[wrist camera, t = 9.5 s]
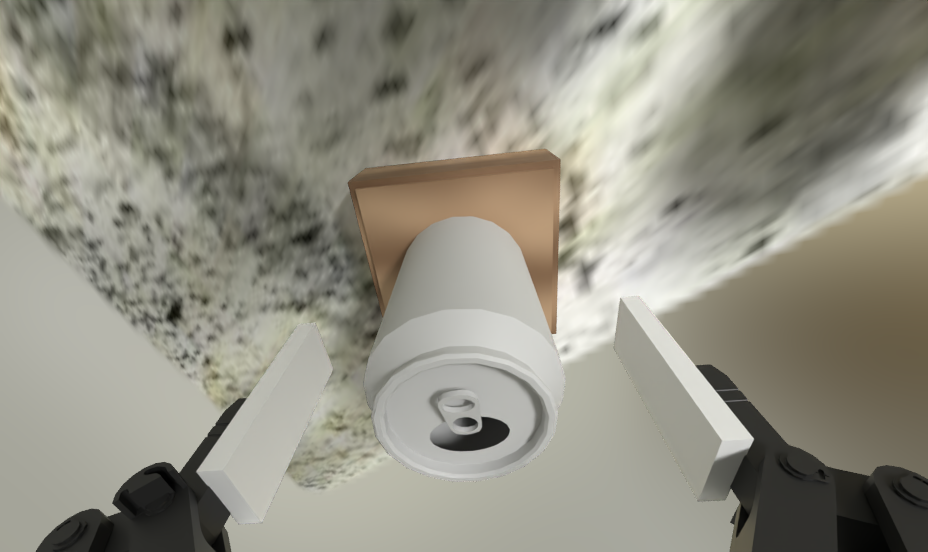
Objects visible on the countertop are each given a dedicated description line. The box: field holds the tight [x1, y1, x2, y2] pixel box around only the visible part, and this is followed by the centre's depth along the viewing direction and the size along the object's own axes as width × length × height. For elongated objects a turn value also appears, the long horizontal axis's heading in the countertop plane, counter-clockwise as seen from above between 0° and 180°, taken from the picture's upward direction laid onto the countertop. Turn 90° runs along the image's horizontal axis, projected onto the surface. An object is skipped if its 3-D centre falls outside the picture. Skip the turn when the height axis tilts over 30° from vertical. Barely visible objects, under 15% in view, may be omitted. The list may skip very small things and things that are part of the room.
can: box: [363, 216, 566, 482], centre depth 17 cm, size 8×8×12 cm
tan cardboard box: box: [348, 149, 560, 334], centre depth 24 cm, size 12×12×4 cm
